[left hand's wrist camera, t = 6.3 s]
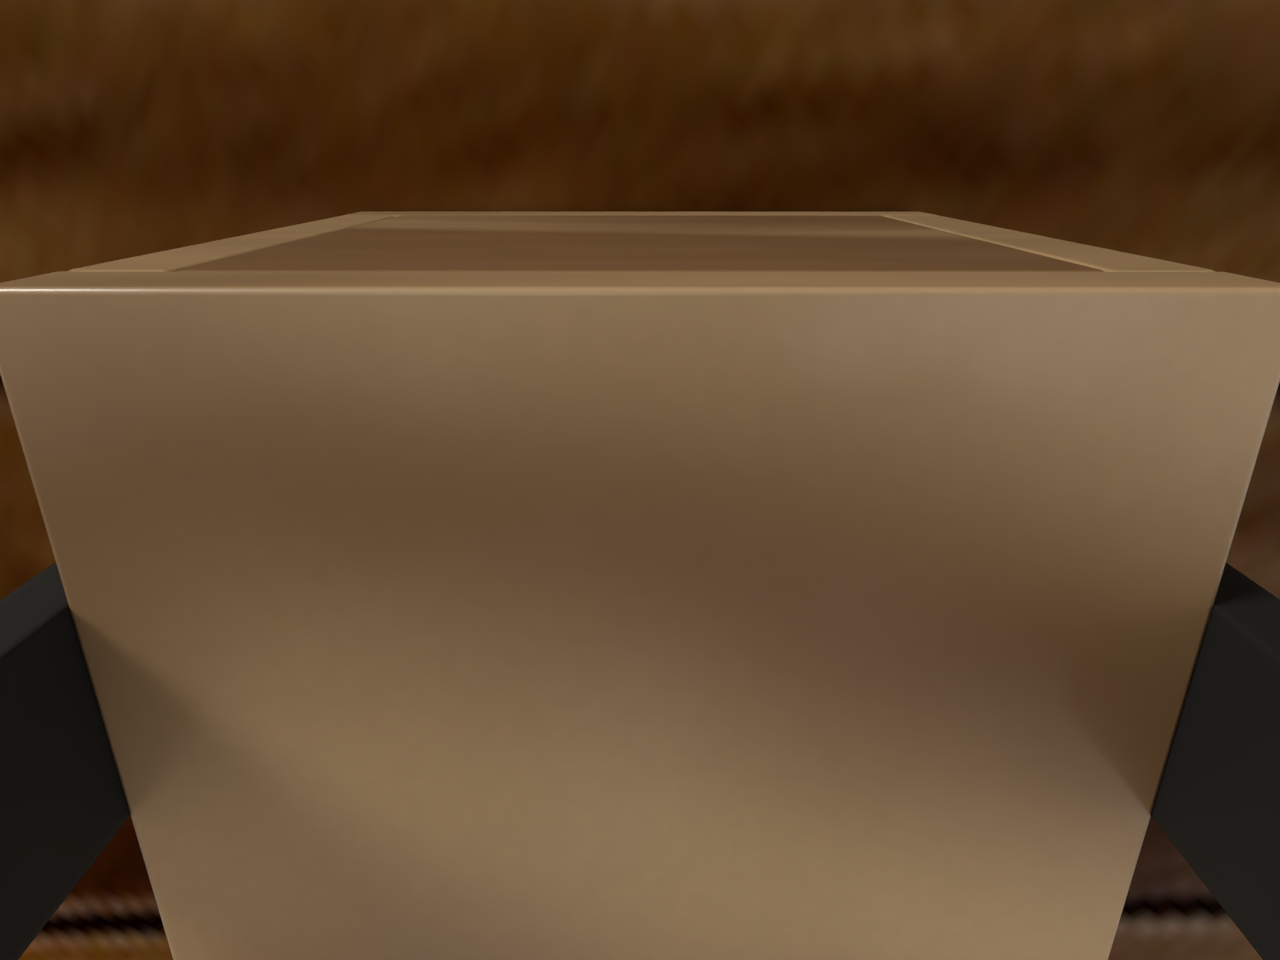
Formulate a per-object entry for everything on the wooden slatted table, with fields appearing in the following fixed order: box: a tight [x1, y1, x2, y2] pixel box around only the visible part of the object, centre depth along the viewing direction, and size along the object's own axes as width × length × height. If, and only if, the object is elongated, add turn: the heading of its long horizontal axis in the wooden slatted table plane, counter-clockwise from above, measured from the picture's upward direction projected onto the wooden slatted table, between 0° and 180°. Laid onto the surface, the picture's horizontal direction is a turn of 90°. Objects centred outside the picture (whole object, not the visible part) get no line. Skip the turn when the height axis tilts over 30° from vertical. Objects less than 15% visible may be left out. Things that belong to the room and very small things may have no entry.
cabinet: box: [0, 212, 1280, 960], centre depth 16 cm, size 21×12×10 cm, turn 0°
